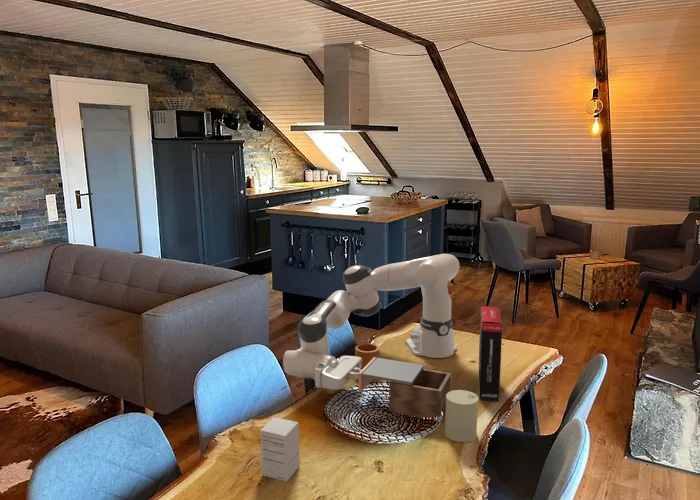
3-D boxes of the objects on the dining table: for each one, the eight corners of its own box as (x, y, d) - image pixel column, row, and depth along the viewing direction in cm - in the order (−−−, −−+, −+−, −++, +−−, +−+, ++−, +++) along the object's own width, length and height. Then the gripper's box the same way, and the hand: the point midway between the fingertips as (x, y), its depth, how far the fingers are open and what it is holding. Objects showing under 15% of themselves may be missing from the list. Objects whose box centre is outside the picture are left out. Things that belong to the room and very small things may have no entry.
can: (482, 440, 154) (484, 401, 151) (451, 444, 152) (453, 404, 149) (468, 424, 162) (470, 386, 160) (439, 427, 161) (441, 389, 158)
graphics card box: (499, 403, 176) (504, 322, 170) (477, 401, 177) (481, 320, 172) (496, 380, 192) (501, 306, 187) (476, 379, 193) (480, 305, 188)
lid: (358, 391, 172) (358, 373, 171) (373, 374, 185) (374, 357, 184) (411, 401, 166) (411, 382, 165) (423, 383, 178) (423, 365, 177)
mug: (388, 366, 204) (388, 344, 202) (370, 378, 195) (371, 354, 193) (368, 360, 209) (368, 338, 207) (350, 371, 200) (350, 348, 198)
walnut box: (389, 412, 169) (389, 382, 167) (402, 393, 182) (403, 365, 180) (439, 422, 163) (440, 391, 161) (449, 402, 176) (451, 373, 174)
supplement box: (275, 460, 144) (274, 416, 141) (300, 466, 141) (299, 421, 139) (260, 475, 137) (259, 429, 135) (286, 482, 134) (285, 435, 132)
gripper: (339, 365, 193) (375, 372, 188) (313, 389, 174) (353, 397, 169) (339, 349, 192) (376, 354, 187) (313, 371, 173) (353, 378, 168)
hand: (365, 375), depth 178 cm, fingers closed
